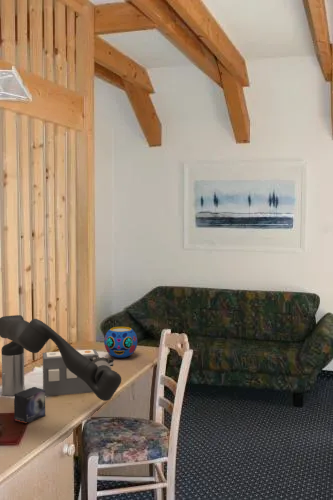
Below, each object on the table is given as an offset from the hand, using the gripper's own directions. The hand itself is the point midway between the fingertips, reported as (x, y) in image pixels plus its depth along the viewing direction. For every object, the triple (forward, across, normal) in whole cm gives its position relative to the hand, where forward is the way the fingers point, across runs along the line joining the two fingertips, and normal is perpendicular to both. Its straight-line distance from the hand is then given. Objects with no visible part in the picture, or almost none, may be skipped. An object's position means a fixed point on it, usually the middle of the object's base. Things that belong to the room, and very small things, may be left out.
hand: (94, 357), depth 230 cm
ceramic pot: (+65, +22, -20) cm, 72 cm away
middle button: (+14, -8, -12) cm, 20 cm away
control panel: (+17, -8, -19) cm, 27 cm away
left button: (+12, -16, -12) cm, 23 cm away
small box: (-12, -26, -19) cm, 34 cm away
